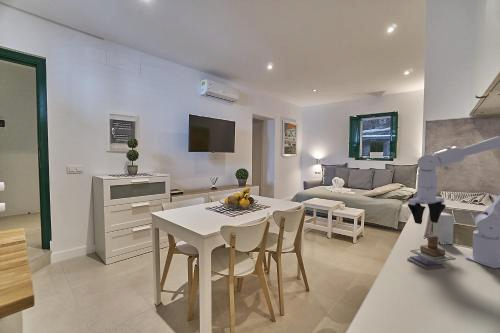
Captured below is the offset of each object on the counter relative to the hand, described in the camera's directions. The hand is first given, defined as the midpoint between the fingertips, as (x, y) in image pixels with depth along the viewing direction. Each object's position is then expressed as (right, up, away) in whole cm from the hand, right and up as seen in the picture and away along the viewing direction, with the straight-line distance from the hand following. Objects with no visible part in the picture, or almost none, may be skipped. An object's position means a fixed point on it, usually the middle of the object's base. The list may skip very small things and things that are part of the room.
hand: (426, 222), depth 86 cm
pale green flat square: (-1, -11, -4) cm, 11 cm away
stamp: (-1, -10, -4) cm, 11 cm away
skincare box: (+13, -10, +9) cm, 19 cm away
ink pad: (-9, -11, -11) cm, 18 cm away
